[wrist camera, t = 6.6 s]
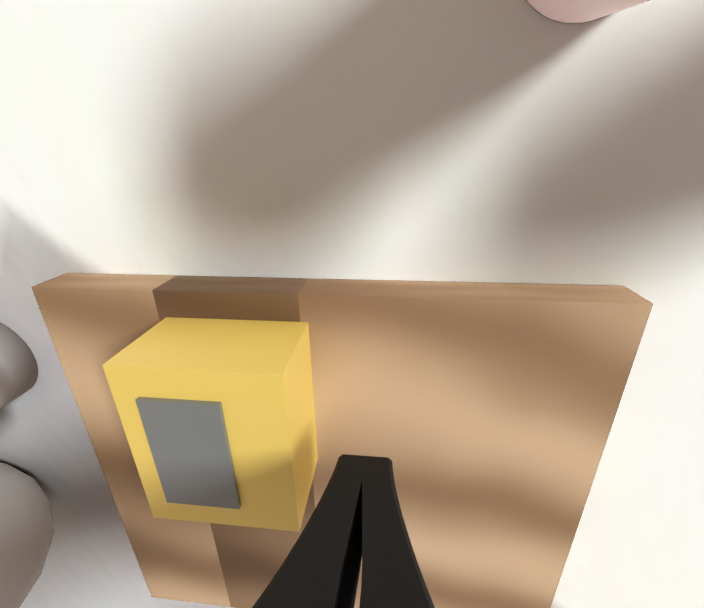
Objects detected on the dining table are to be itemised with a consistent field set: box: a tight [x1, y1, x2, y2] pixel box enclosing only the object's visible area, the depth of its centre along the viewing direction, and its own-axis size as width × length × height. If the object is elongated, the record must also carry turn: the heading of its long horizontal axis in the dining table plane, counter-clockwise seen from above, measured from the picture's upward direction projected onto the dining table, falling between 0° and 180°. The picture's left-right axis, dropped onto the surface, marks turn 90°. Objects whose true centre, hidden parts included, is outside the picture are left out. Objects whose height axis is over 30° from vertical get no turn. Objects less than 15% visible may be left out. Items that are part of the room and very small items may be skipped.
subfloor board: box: [32, 273, 653, 608], centre depth 16 cm, size 18×20×2 cm
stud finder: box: [102, 317, 318, 532], centre depth 12 cm, size 6×5×3 cm
